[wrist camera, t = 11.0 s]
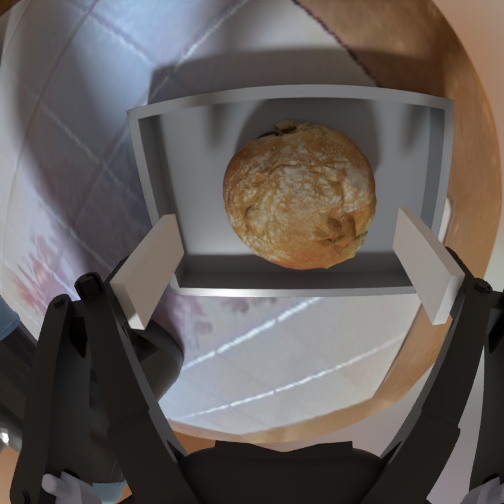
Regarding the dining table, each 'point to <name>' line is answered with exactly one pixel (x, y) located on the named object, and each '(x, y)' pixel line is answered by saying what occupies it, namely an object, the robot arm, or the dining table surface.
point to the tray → (262, 121)
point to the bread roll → (300, 195)
